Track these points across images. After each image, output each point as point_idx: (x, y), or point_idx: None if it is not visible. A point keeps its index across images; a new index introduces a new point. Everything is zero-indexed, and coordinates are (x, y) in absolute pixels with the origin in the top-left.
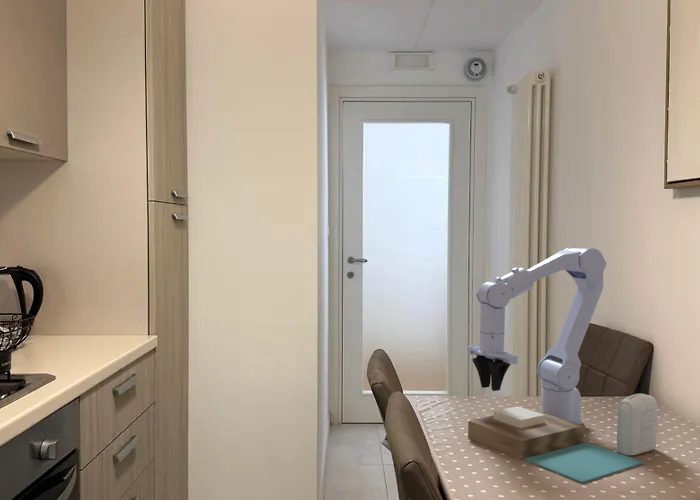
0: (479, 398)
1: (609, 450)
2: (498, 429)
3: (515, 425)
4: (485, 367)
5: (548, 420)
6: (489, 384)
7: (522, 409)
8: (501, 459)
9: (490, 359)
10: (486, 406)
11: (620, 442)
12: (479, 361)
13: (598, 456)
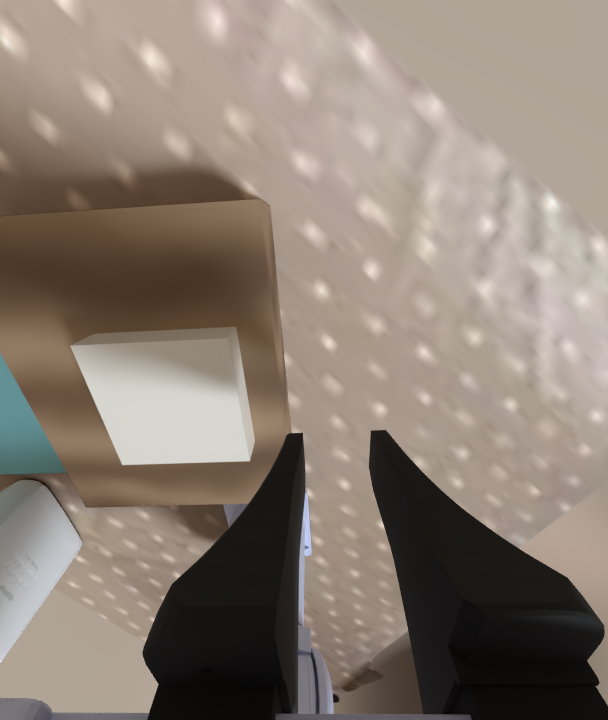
0: (544, 511)
1: (43, 472)
2: (94, 235)
3: (118, 333)
4: (414, 570)
5: (156, 467)
6: (372, 478)
7: (207, 448)
8: (18, 147)
9: (431, 696)
10: (480, 480)
11: (6, 501)
12: (457, 604)
13: (2, 424)
